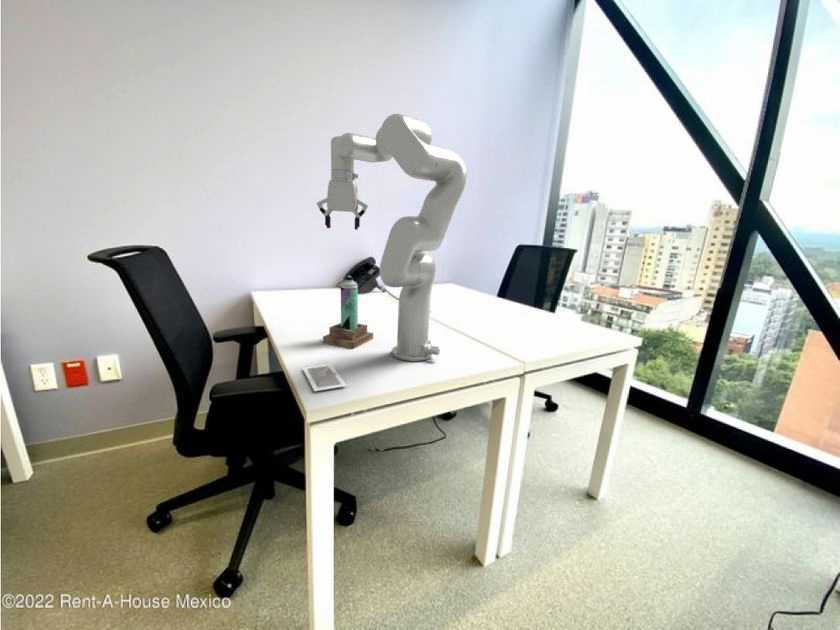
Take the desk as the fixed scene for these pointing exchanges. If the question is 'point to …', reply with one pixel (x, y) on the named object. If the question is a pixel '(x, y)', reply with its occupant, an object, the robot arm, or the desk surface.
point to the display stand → (348, 336)
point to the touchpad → (323, 377)
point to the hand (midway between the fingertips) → (342, 228)
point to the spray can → (349, 304)
